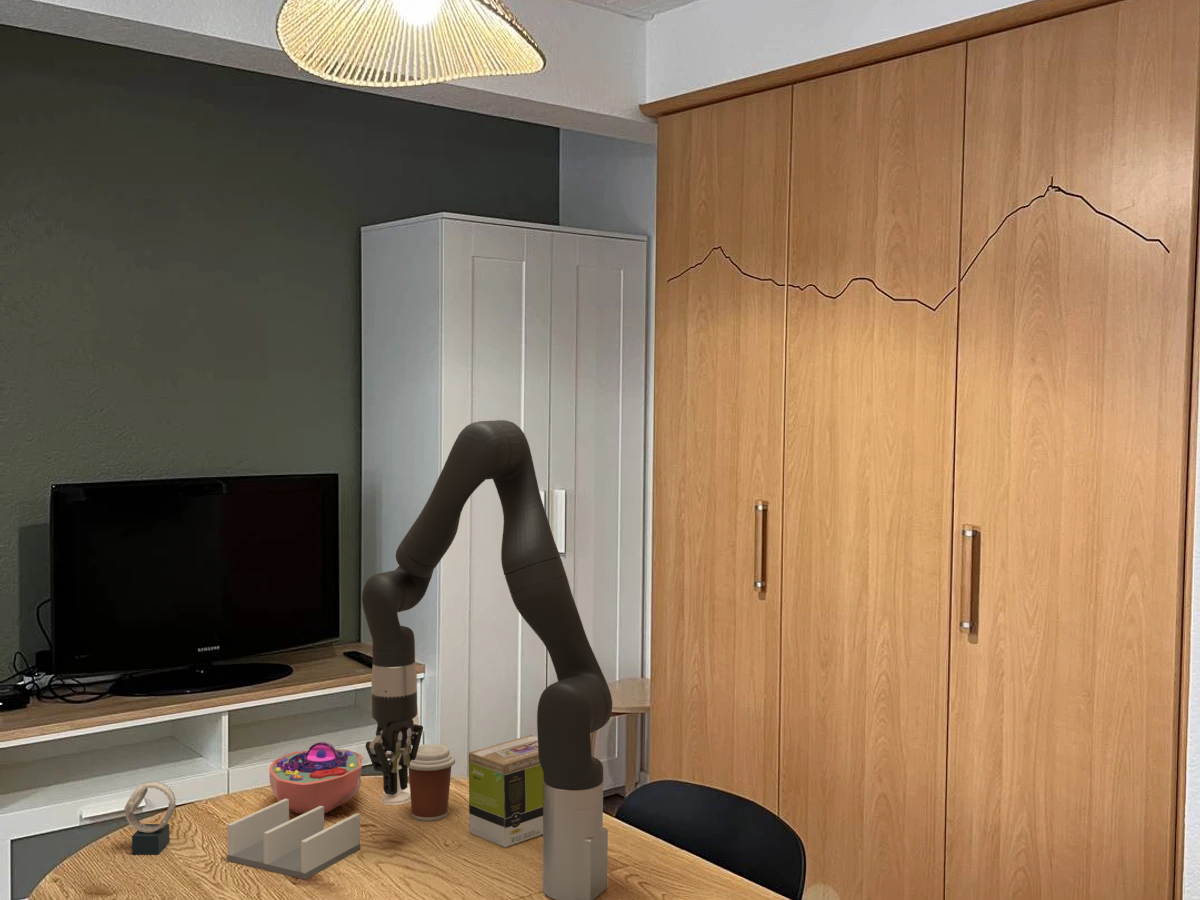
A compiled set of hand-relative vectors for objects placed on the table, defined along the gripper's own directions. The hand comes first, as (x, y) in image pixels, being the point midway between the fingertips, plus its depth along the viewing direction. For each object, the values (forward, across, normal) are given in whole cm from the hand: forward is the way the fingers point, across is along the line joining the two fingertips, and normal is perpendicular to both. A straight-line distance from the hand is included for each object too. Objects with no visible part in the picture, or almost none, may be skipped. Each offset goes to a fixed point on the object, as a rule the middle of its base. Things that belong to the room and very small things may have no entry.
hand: (395, 790), depth 205 cm
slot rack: (+9, -11, +13) cm, 19 cm away
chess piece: (+2, 0, 0) cm, 2 cm away
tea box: (+10, +16, -14) cm, 24 cm away
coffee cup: (+10, +15, +4) cm, 18 cm away
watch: (+9, -20, +36) cm, 42 cm away
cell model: (+9, +8, +24) cm, 27 cm away
